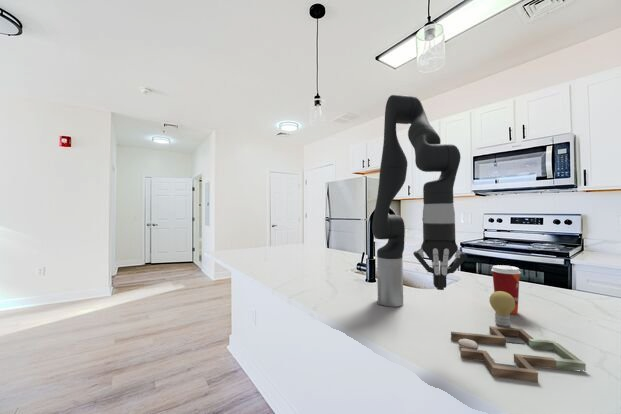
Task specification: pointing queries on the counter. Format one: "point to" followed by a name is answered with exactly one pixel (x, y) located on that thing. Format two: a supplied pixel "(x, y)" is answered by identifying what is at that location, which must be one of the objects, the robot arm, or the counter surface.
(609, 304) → the counter surface
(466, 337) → the brown green zigzag frame
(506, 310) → the light bulb
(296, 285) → the counter surface
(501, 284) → the coffee cup
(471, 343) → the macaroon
